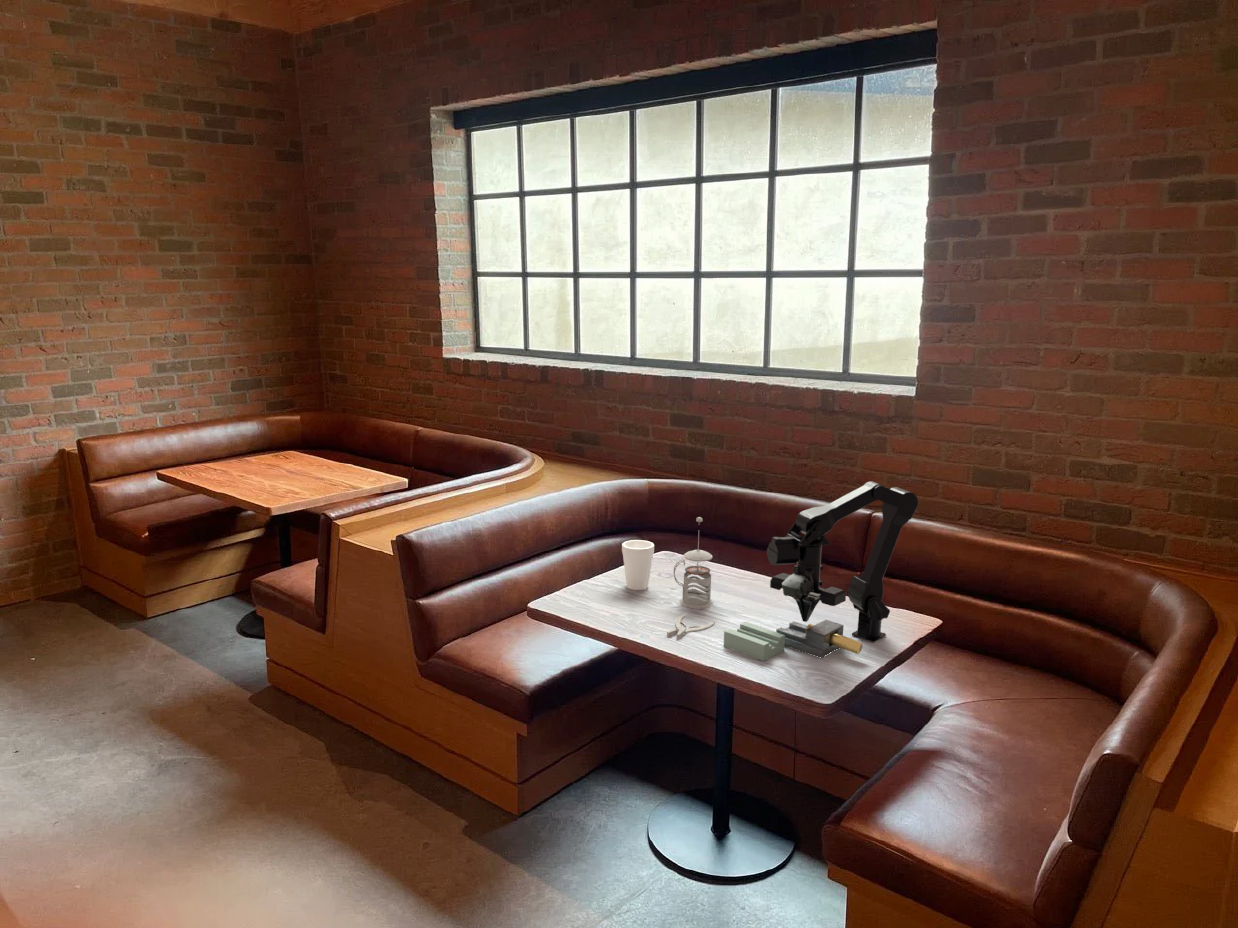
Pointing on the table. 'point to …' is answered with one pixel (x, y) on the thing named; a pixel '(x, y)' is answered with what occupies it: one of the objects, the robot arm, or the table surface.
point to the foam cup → (637, 563)
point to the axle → (844, 642)
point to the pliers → (682, 630)
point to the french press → (696, 579)
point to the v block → (754, 641)
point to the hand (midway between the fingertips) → (805, 621)
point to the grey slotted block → (811, 637)
